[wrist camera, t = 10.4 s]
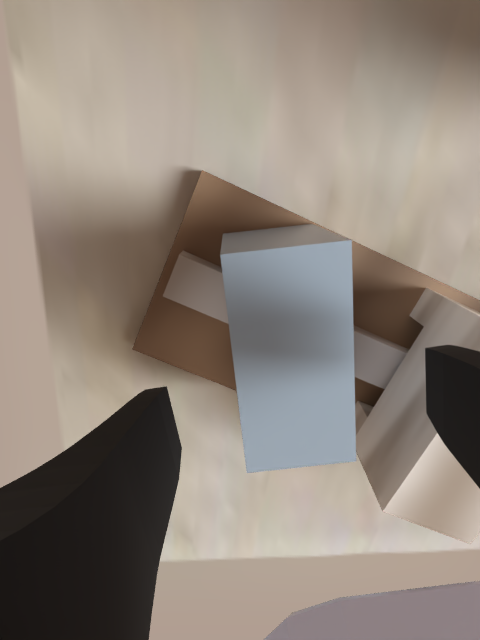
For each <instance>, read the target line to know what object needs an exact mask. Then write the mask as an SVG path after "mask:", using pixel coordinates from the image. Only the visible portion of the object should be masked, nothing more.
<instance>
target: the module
mask: <svg viewBox="0 0 480 640" xmlns="http://www.w3.org/2000/svg"><path fill="white" fill-rule="evenodd" d="M220 257H221V265H222V273H223V281H224V290H225V298H226V306H227V314H228V322H229V331H230V339H231V347H232V355H233V363H234V371H235V380H236V388H237V396H238V404H239V412H240V421H241V429H242V437H243V445H244V453H245V461H246V470H247V473H252V472H261V471H270V470H280V469H289V468H298V467H307V466H317V465H326V464H335V463H344V462H354V461H356V427H355V377H354V327H353V277H352V240H351V239H348V238H346V237H343V236H341V235H339V234H336V233H334V232H331V231H329V230H326V229H324V228H322V227H319V226H317V225H314V224H305V225H296V226H287V227H278V228H269V229H260V230H251V231H242V232H233V233H224V234H223V236H222V244H221V252H220Z"/></svg>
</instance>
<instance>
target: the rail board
mask: <svg viewBox="0 0 480 640" xmlns="http://www.w3.org/2000/svg"><path fill="white" fill-rule="evenodd" d="M305 224H314V225H317V226H319V227H322V226H320V225H318V224H316V223H314V222H312V221H309V220H307V219H305V218H303V217H301V216H299V215H297V214H295V213H292V212H290V211H288V210H286V209H284V208H282V207H280V206H277V205H275V204H273V203H271V202H269V201H267V200H265V199H263V198H260V197H258V196H256V195H254V194H252V193H250V192H248V191H245V190H243V189H241V188H239V187H237V186H235V185H233V184H231V183H228V182H226V181H224V180H222V179H220V178H218V177H216V176H213V175H211V174H209V173H207V172H205V171H203V170H202V172H201V174H200V177H199V180H198V182H197V185H196V187H195V190H194V192H193V195H192V198H191V200H190V203H189V205H188V208H187V210H186V213H185V215H184V218H183V221H182V223H181V226H180V228H179V231H178V233H177V236H176V238H175V241H174V244H173V246H172V249H171V251H170V254H169V256H168V259H167V262H166V264H165V267H164V269H163V272H162V274H161V277H160V279H159V282H158V285H157V287H156V290H155V292H154V295H153V297H152V300H151V302H150V305H149V308H148V310H147V313H146V315H145V318H144V320H143V323H142V326H141V328H140V331H139V333H138V336H137V338H136V341H135V343H134V346H133V350H136V351H138V352H141V353H143V354H146V355H148V356H151V357H153V358H156V359H158V360H161V361H163V362H166V363H168V364H171V365H173V366H176V367H178V368H181V369H183V370H186V371H188V372H191V373H194V374H196V375H199V376H201V377H204V378H206V379H209V380H211V381H214V382H216V383H219V384H221V385H224V386H226V387H229V388H231V389H234V390H236V391H237V388H236V380H235V371H234V363H233V355H232V347H231V339H230V331H229V322H228V314H227V306H226V298H225V290H224V281H223V273H222V265H221V257H220V252H221V244H222V236H223V234H224V233H233V232H242V231H251V230H260V229H269V228H278V227H287V226H296V225H305ZM322 228H324V227H322ZM324 229H326V228H324ZM326 230H329V229H326ZM329 231H331V230H329ZM331 232H333V231H331ZM334 233H335V232H334ZM336 234H337V233H336ZM343 237H344V236H343ZM352 277H353V327H354V377H355V427H356V452H357V455H358V457H359V459H360V461H361V464H362V466H363V468H364V470H365V473H366V475H367V477H368V479H369V482H370V484H371V486H372V489H373V491H374V493H375V495H376V498H377V500H378V502H379V504H380V507H381V509H382V511H383V512H385V513H388V514H391V515H393V516H396V517H399V518H401V519H404V520H407V521H409V522H412V523H415V524H418V525H420V526H423V527H426V528H428V529H431V530H434V531H436V532H439V533H442V534H444V535H447V536H450V537H452V538H455V539H458V540H460V541H463V542H466V543H468V544H471V543H472V542H473V541H474V539H475V538H476V537H477V536H478V534H479V533H480V488H479V487H478V486H477V485H476V483H475V482H474V481H473V480H472V478H471V477H470V476H469V475H468V474H467V472H466V471H465V470H464V469H463V467H462V466H461V465H460V463H459V462H458V461H457V460H456V458H455V457H454V456H453V455H452V453H451V452H450V451H449V449H448V448H447V447H446V446H445V444H444V443H443V441H442V440H441V438H440V436H439V435H438V433H437V431H436V430H435V428H434V426H433V424H432V423H431V421H430V419H429V417H428V415H427V414H426V372H425V348H428V347H435V346H442V345H455V346H460V347H464V348H468V349H472V350H476V351H480V300H478V299H476V298H474V297H471V296H469V295H467V294H465V293H463V292H461V291H459V290H457V289H454V288H452V287H450V286H448V285H446V284H444V283H442V282H439V281H437V280H435V279H433V278H431V277H429V276H427V275H425V274H422V273H420V272H418V271H416V270H414V269H412V268H410V267H408V266H405V265H403V264H401V263H399V262H397V261H395V260H393V259H390V258H388V257H386V256H384V255H382V254H380V253H378V252H376V251H373V250H371V249H369V248H367V247H365V246H363V245H361V244H358V243H356V242H354V241H352Z"/></svg>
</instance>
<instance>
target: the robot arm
mask: <svg viewBox="0 0 480 640" xmlns="http://www.w3.org/2000/svg"><path fill="white" fill-rule="evenodd" d="M425 372H426V414H427V415H428V417H429V419H430V421H431V423H432V424H433V426H434V428H435V430H436V431H437V433H438V435H439V436H440V438H441V440H442V441H443V443H444V444H445V446H446V447H447V448H448V449H449V451H450V452H451V453H452V455H453V456H454V457H455V458H456V460H457V461H458V462H459V463H460V465H461V466H462V467H463V469H464V470H465V471H466V472H467V474H468V475H469V476H470V477H471V478H472V480H473V481H474V482H475V483H476V485H477V486H478V487H479V488H480V351H476V350H472V349H468V348H464V347H460V346H455V345H442V346H435V347H428V348H425ZM181 450H182V447H181V443H180V439H179V435H178V431H177V427H176V423H175V419H174V415H173V410H172V406H171V402H170V398H169V394H168V390H167V386H166V387H160V388H153V389H146V390H144V391H142V392H141V393H139V394H138V395H137V396H135V397H134V398H133V399H131V400H130V401H129V402H128V403H126V404H125V405H124V406H123V407H122V408H120V409H119V410H118V411H117V412H115V413H114V414H113V415H112V416H111V417H109V418H108V419H107V420H106V421H104V422H103V423H102V424H101V425H99V426H98V427H97V428H95V429H94V430H93V431H91V432H90V433H89V434H87V435H86V436H85V437H83V438H82V439H81V440H79V441H78V442H77V443H75V444H74V445H72V446H71V447H70V448H68V449H67V450H65V451H64V452H62V453H61V454H59V455H58V456H56V457H55V458H53V459H52V460H50V461H48V462H46V463H45V464H43V465H42V466H40V467H38V468H37V469H35V470H33V471H31V472H30V473H28V474H26V475H24V476H22V477H20V478H18V479H17V480H15V481H13V482H11V483H9V484H7V485H5V486H3V487H2V488H0V640H148V639H149V631H150V623H151V614H152V606H153V599H154V592H155V585H156V577H157V571H158V566H159V561H160V556H161V552H162V548H163V543H164V539H165V535H166V531H167V527H168V523H169V519H170V515H171V510H172V506H173V502H174V498H175V494H176V489H177V485H178V480H179V472H180V462H181ZM264 640H480V581H474V582H465V583H457V584H449V585H440V586H432V587H424V588H416V589H407V590H399V591H391V592H383V593H374V594H366V595H358V596H350V597H342V598H337V599H333V600H330V601H327V602H324V603H321V604H318V605H315V606H312V607H308V608H305V609H302V610H299V611H296V612H293V613H291V614H290V615H289V616H288V617H287V618H286V619H285V620H284V621H283V622H282V623H281V624H280V625H279V626H278V627H276V628H275V629H274V630H273V631H272V632H271V633H270V634H269V635H268V636H267V637H266V638H265V639H264Z"/></svg>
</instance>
